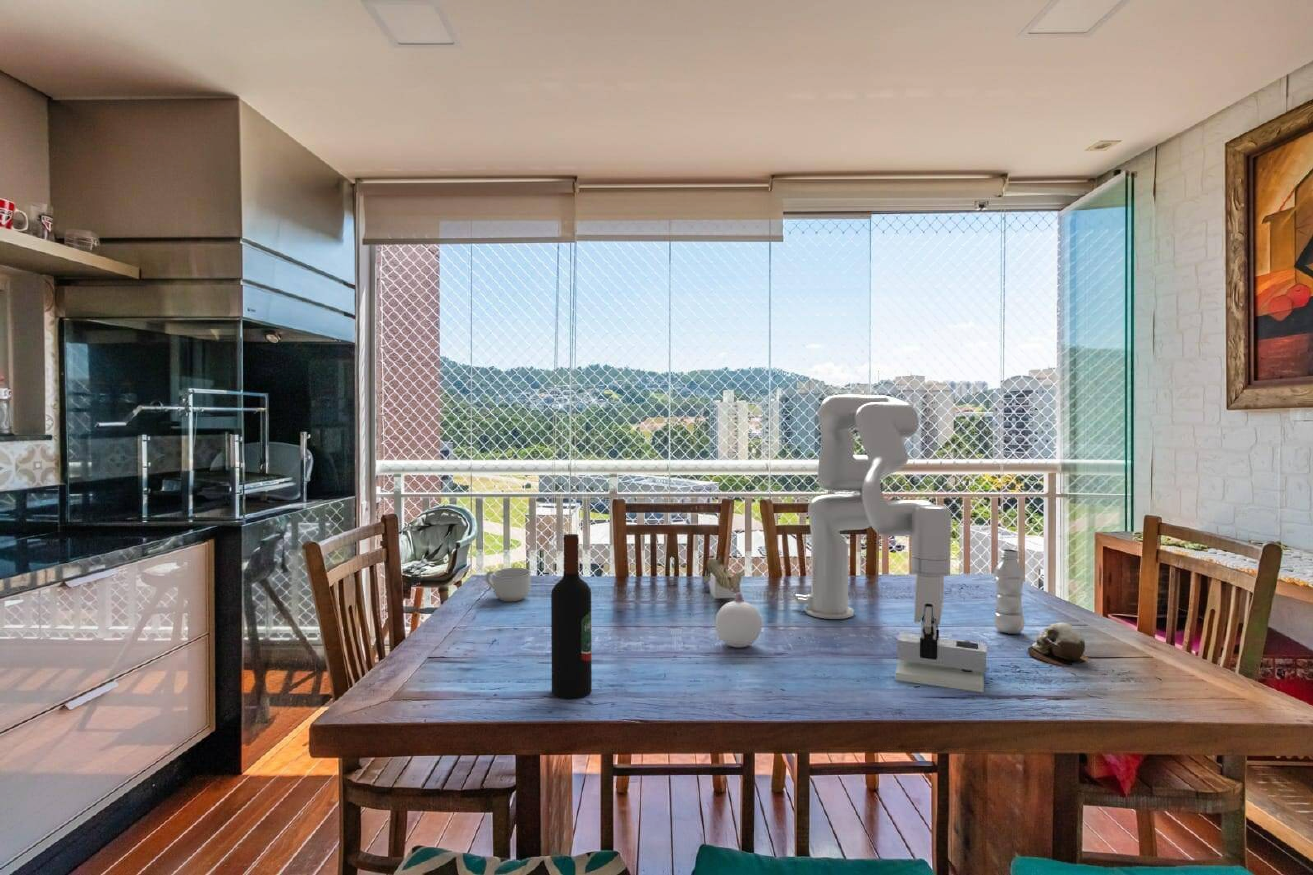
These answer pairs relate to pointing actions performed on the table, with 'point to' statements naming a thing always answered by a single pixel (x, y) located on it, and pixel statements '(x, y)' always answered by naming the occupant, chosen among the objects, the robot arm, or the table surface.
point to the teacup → (510, 583)
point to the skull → (1060, 646)
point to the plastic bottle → (1009, 593)
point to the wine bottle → (571, 629)
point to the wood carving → (722, 580)
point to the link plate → (944, 652)
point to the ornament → (738, 623)
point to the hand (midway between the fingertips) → (929, 652)
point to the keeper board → (940, 675)
